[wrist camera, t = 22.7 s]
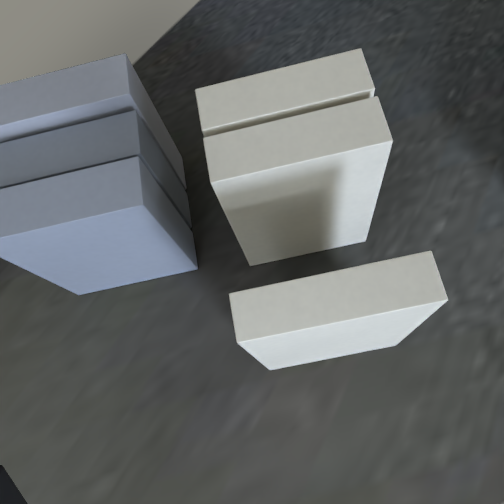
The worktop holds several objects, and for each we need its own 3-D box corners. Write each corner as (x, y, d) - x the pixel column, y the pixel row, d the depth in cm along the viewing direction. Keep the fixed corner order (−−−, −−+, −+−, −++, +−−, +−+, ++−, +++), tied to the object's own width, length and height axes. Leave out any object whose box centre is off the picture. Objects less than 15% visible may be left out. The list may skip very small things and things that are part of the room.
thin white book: (396, 345, 34) (448, 300, 20) (269, 370, 35) (236, 343, 21) (387, 314, 35) (431, 249, 21) (263, 339, 36) (228, 293, 22)
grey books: (198, 269, 39) (140, 201, 26) (78, 295, 40) (-34, 241, 27) (182, 157, 43) (125, 52, 30) (74, 183, 44) (-26, 91, 31)
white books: (365, 241, 38) (393, 140, 24) (250, 266, 38) (210, 183, 24) (346, 175, 40) (361, 47, 26) (237, 199, 41) (194, 88, 27)
